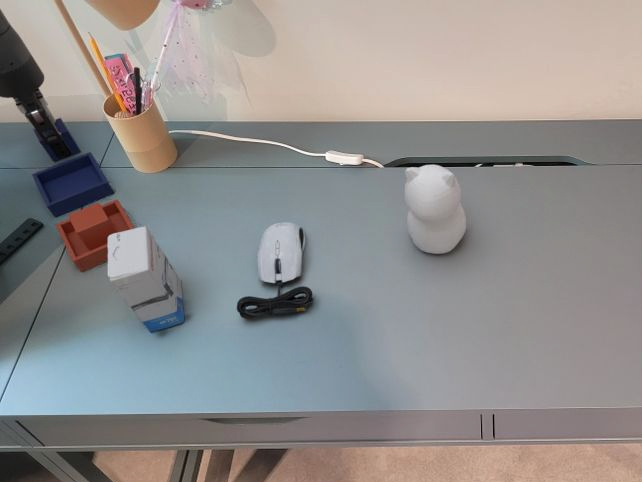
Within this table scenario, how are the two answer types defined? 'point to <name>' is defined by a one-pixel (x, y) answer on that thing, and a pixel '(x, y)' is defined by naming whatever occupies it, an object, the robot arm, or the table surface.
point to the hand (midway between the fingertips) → (58, 143)
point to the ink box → (145, 278)
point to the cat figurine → (434, 208)
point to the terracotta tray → (76, 245)
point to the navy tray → (72, 184)
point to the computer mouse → (279, 271)
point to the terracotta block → (92, 226)
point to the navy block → (65, 136)
